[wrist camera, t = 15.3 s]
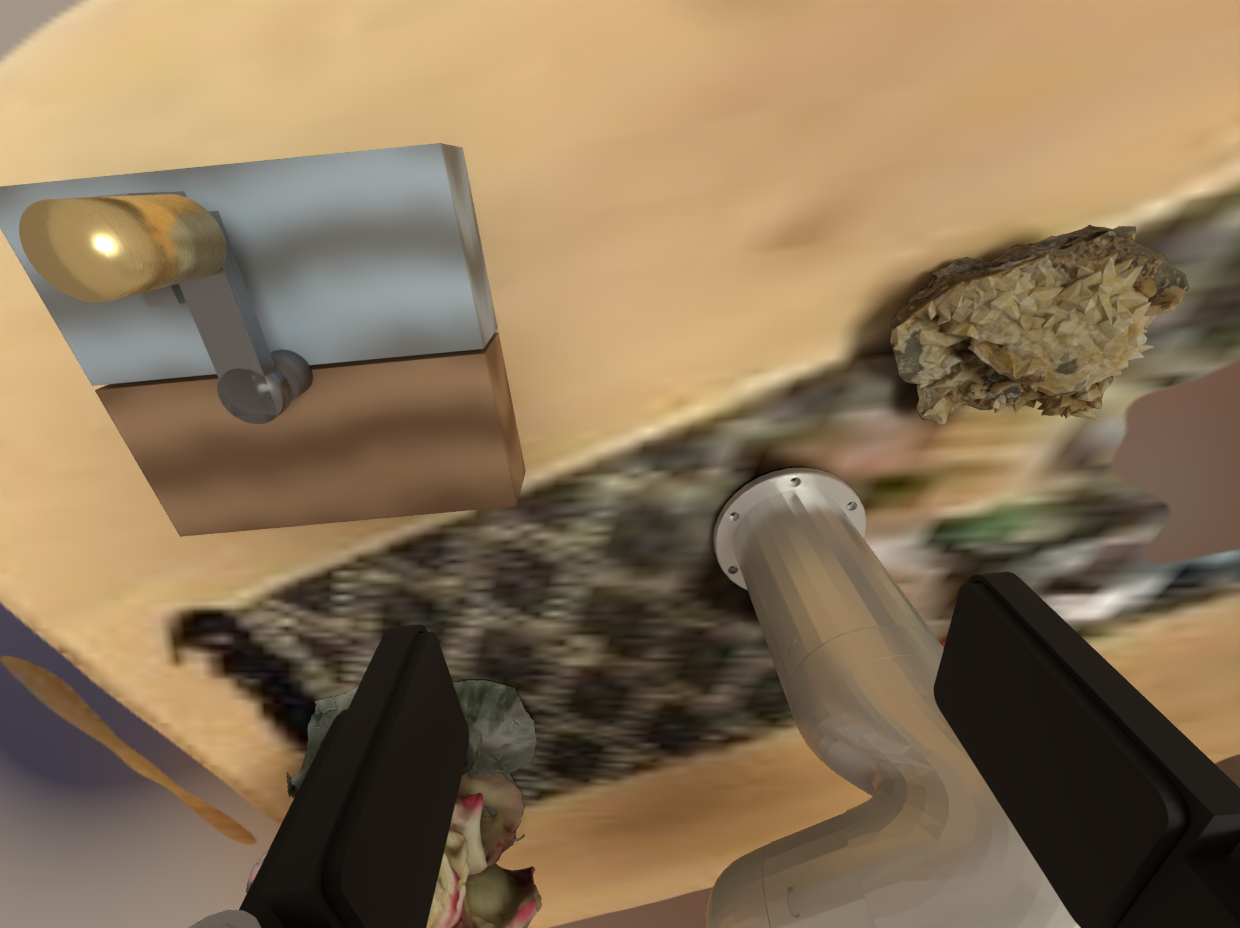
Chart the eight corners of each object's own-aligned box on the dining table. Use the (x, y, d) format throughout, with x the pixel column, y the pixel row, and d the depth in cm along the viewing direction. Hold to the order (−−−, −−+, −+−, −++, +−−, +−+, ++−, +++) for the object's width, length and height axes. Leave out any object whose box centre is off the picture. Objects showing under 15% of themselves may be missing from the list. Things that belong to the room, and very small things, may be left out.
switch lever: (303, 413, 31) (226, 475, 24) (240, 417, 31) (146, 480, 24) (224, 191, 25) (99, 196, 19) (147, 195, 25) (-3, 202, 19)
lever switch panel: (525, 471, 42) (508, 537, 34) (223, 499, 42) (139, 571, 35) (462, 147, 32) (417, 138, 24) (62, 187, 32) (-109, 190, 24)
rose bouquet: (548, 822, 65) (513, 1262, 39) (295, 802, 62) (66, 1271, 35) (585, 678, 54) (570, 1167, 27) (275, 642, 50) (-90, 1167, 23)
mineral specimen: (866, 433, 42) (937, 501, 33) (863, 261, 36) (950, 289, 27) (1060, 390, 41) (1187, 449, 32) (1091, 206, 34) (1259, 216, 26)
